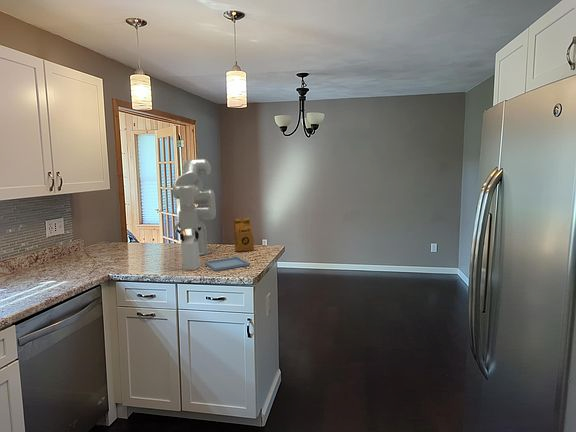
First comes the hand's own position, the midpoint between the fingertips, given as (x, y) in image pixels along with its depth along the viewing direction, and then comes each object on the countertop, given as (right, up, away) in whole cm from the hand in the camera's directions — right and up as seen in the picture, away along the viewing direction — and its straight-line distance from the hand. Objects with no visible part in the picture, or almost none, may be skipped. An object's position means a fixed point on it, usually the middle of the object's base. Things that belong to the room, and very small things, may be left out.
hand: (189, 239), depth 217 cm
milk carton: (+1, -16, +2) cm, 16 cm away
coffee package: (+25, -10, +45) cm, 53 cm away
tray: (+20, -15, +6) cm, 26 cm away
